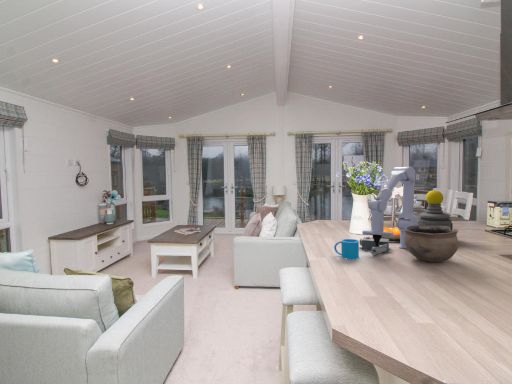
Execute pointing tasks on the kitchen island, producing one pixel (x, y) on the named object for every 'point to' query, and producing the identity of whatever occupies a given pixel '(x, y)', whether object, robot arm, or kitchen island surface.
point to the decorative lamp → (435, 212)
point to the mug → (349, 248)
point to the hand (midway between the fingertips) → (377, 249)
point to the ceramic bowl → (431, 242)
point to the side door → (379, 249)
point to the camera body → (372, 243)
